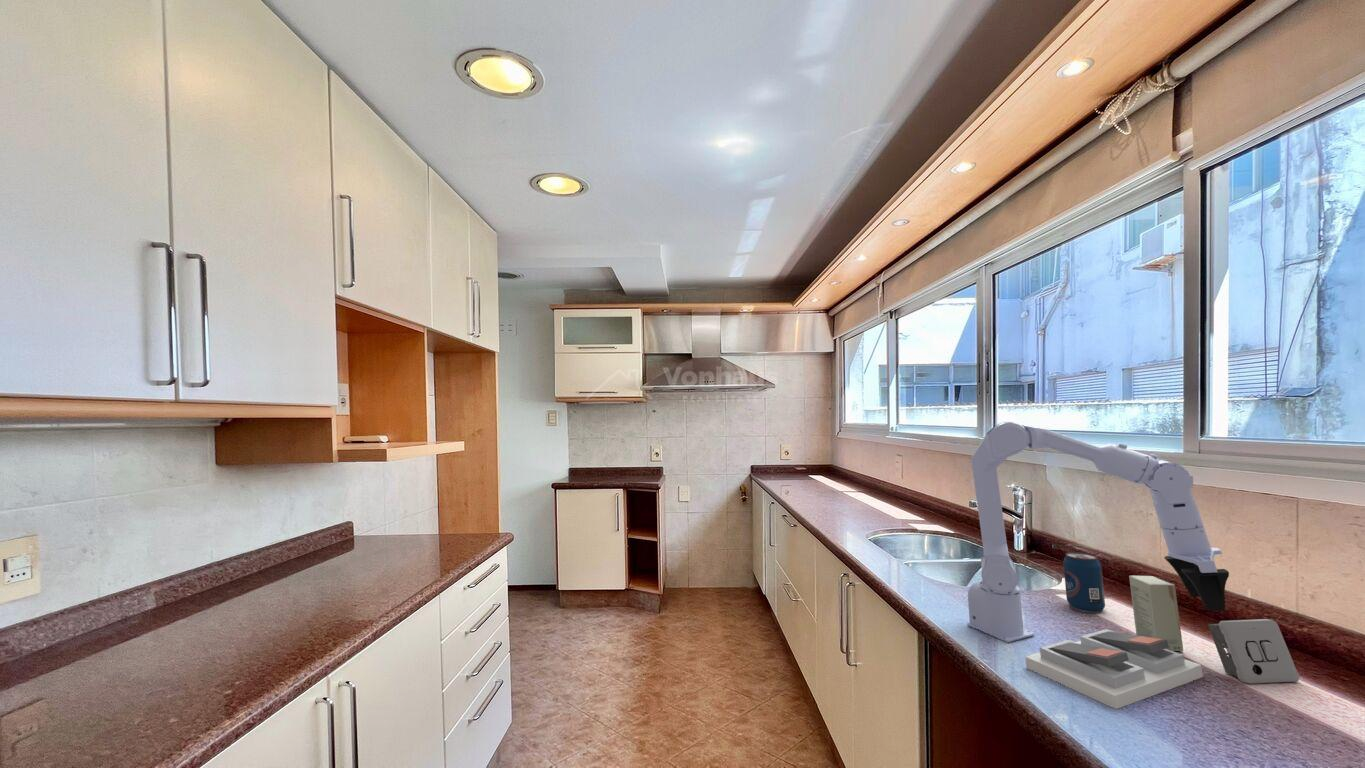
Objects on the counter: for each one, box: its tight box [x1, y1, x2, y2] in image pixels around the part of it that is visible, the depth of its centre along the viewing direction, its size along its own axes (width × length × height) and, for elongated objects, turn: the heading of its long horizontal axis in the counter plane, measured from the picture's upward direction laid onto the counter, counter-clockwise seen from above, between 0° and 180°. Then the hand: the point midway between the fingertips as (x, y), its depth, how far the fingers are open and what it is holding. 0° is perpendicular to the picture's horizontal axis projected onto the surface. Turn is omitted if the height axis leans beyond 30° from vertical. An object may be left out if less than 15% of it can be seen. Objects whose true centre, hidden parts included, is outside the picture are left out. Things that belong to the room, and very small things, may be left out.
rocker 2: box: [1092, 631, 1169, 653], centre depth 89 cm, size 9×5×1 cm, turn 20°
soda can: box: [1062, 551, 1106, 614], centre depth 115 cm, size 7×7×12 cm
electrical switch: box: [1207, 618, 1300, 684], centre depth 85 cm, size 9×5×9 cm, turn 90°
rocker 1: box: [1052, 643, 1129, 667], centre depth 86 cm, size 9×5×1 cm, turn 20°
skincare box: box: [1128, 575, 1184, 652], centre depth 97 cm, size 6×4×12 cm
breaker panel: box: [1025, 628, 1204, 710], centre depth 87 cm, size 14×23×4 cm, turn 110°
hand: (1207, 602), depth 89 cm, fingers open, 7 cm apart
